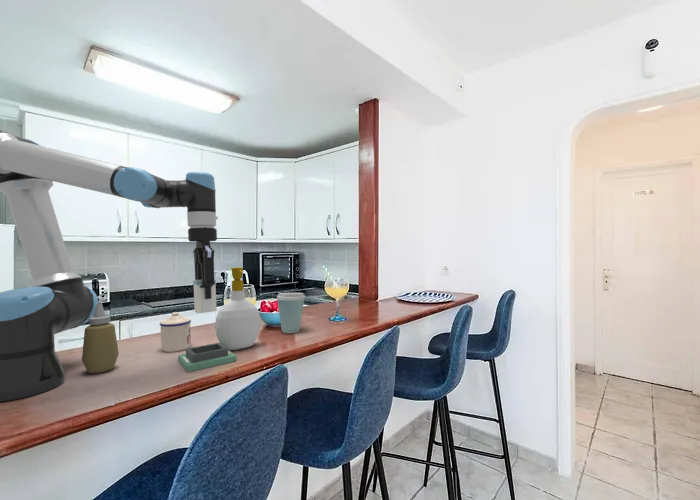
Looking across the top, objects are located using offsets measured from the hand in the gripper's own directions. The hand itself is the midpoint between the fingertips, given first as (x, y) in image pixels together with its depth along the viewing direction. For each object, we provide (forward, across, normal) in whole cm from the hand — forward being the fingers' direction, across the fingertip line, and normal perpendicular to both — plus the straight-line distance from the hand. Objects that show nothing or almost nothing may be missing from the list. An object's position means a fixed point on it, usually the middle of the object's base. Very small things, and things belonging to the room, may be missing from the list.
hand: (205, 309), depth 98 cm
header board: (+15, 0, 0) cm, 15 cm away
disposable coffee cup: (+16, +15, -34) cm, 41 cm away
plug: (+1, 0, 0) cm, 1 cm away
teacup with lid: (+15, +21, +5) cm, 27 cm away
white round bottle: (+15, +7, -12) cm, 20 cm away
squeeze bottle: (+15, +11, +25) cm, 31 cm away
